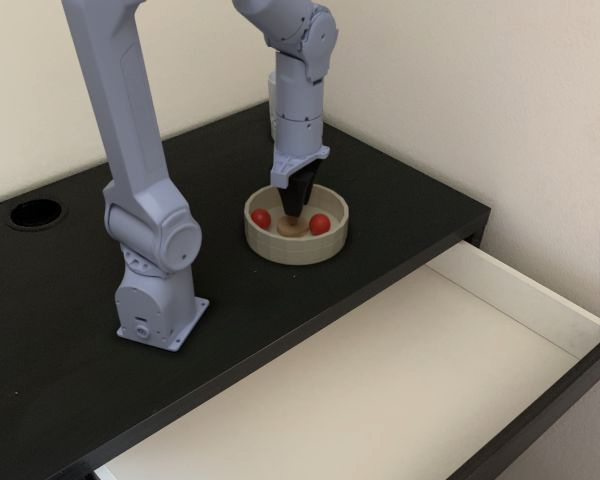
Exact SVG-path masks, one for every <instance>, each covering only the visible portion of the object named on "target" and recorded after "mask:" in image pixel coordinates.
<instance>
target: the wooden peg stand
mask: <svg viewBox="0 0 600 480" xmlns="http://www.w3.org/2000/svg"><path fill="white" fill-rule="evenodd" d="M277 231H278V233H279V234H280V235H281V236H284V237H291V238H300V237H303V236H304V235H306V234H307V232H308V221H307V220H306V219H305V218H303V217H301V216H300V217H293V216H289V215H286V216H283V217H281V218H280V219H279V220H278V222H277Z"/></svg>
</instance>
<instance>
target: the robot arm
mask: <svg viewBox="0 0 600 480" xmlns="http://www.w3.org/2000/svg"><path fill="white" fill-rule="evenodd" d="M147 1H148V0H60V2H61V5H62V9H63V12H64V15H65V19H66V22H67V25H68V29H69V33H70V37H71V40H72V44H73V46H74V50H75V54H76V57H77V60H78V63H79V67H80V71H81V74H82V78H83V81H84V83H85V87H86V90H87V94H88V98H89V101H90V105H91V107H92V111H93V115H94V118H95V121H96V125H97V129H98V131H99V135H100V139H101V142H102V145H103V149H104V152H105V155H106V160H107V163H108V165H109V170H110V172H111V176H112V180H110V181H109V182H108V183H107V185H106V186H105V187H104V188H103V189H102V195H103V197H104V202H105V210H104V217H103V219H104V227H105V231H106V232H107V234H108V235H109V236H110V237H111V238H112V239H114V240H116V241H117V242H119V247H120V250H121V252H122V253H123V257H124V264H125V265H124V267H125V268H124V274H123V278H122V280H121V283H120V285H119V286H118V288H117V289H116V291H115V294H114V302H115V306H116V310H117V315H118V319H119V323H120V326H119V328H118V329H117V331H116V335H117V337H119V338H123V339H125V340H126V339H127V340H130V341H134V342H138V343H141V344H144V345H148V346H151V347H152V346H153V347H155V348H160V349H163V350H167V351H170V352H177V351H179V350H180V348H181V347H182V345H183V344H184V343H185V342H186V339H187V338H188V336H189V335H190V333H192V331H193V329H194V327H196V324H198V323H199V320H200V319H201V318H202V316H203V314H204V313H205V312H206V311H207V309H208V308H209V306H210V301H209V300H208V299H206V298H202V297H198V296H195V287H194V279H193V272H192V264H193V262H194V261H195V259H196V258H197V256H198V254H199V252H200V249H201V246H202V239H203V235H202V229H201V226H200V224H199V223H198V221H196V220H195V219H194V217H193V216H192V214H191V210H190V205H189V202H188V201H187V200H186V198H185V197H184V195H183V194H182V192H181V191H180V190H179V189H178V187H177V186H176V185H175V183H174V182H173V181H172V180H171V178H170V175H169V171H168V170H169V169H168V166H167V160H166V155H165V152H164V147H163V143H162V137H161V133H160V128H159V123H158V119H157V115H156V110H155V106H154V101H153V95H152V90H151V86H150V82H149V78H148V72H147V68H146V65H145V58H144V55H143V50H142V46H141V45H142V44H141V39H140V35H139V31H138V26H137V21H136V17H135V15H136V12H137V9H138V8H139V7H140V5H141V4H144V3H146V2H147ZM231 3H232V5H233V8H234V9H235V10H236V12H237V13H239V14H240V15H241V16H242V17H243V18H244V19H245V20H247V21H248V22H249V23H251V24H252V26H254V27H255V28H256V29H257V30H258V31H260V32H261V33H262V34H263V39H264V42H265V45H266V46H267V48H272V49H273V50H275V52H274V53H275V55H274V56H275V57H274V58H275V59H274V61H275V69H276V141H274V143H273V162H272V163H271V165H270V166H269V167H268V175H269V178H270V185H271V186H275V187H277V189H278V192H279V194H280V198H281V201H282V205H283V209H284V212H285V215H289V216H293V217H300V215H301V213H302V210H303V205H306V206H307V204H308V202H309V199H310V196H311V192H312V188H313V184H315V180H316V177H317V174H318V172H319V169H320V167H321V166H322V163H323V161H324V160H325V159H327V158H328V157H329V155H330V151H331V149H330V147H329V146H326V145H324V144H323V134H324V133H323V132H324V121H323V113H324V112H323V111H324V110H323V109H324V96H325V95H324V92H325V76H327V75H328V72H329V70H330V67H331V66H330V63H331V57H332V55H333V51H334V49H335V47H336V44H337V41H338V37H339V30H340V29H339V28H337V23H336V19H335V17H334V16H333V14H332V12H331V10H330V9H329V8H328V7H327V6H325V5H323V4H319V3H317V2H313V1H312V0H231Z"/></svg>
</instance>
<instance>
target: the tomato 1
mask: <svg viewBox="0 0 600 480" xmlns="http://www.w3.org/2000/svg"><path fill="white" fill-rule="evenodd" d="M250 217H251V219H252V221H253V222H254V223H255V224H256V225H257V226H259V227H260V228H261V229H263V230H266V229H267V228H268V227H269V226H270V224H271V216H270V214H269V212H268V211H266V210H265V209H256V210H254V211H253V212H252V213H251V215H250Z"/></svg>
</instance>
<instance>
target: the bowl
mask: <svg viewBox="0 0 600 480" xmlns="http://www.w3.org/2000/svg"><path fill="white" fill-rule="evenodd" d="M256 209H265V210H266V211H268V212H269V214H270V216H271V224H270V226H269V227H268V228H267V229H266V230H263V229H261V228H260V227H259V226H257V225H256V224H255V223H254V222H253V221H252V219H251V217H250V215H251V213H252V212H253V211H254V210H256ZM349 213H350V212H349V206H348V204H347V202H346V201H345V199H344V197H342V196H341V195H340V194H338V193H337V192H336V191H335V190H333V189H330V188H328V187H326V186H323V185H321V184H317V183H314V184H313V188H312V192H311V196H310V199H309V202H308V204H307V206H306V205H303V210H302V213H301V215H300V216H301V217H303V218H305V219H306V220H307V221H308V232H307V234H306V235H304V236H303V237H300V238H291V237H284V236H281V235H280V234H279V233H278V231H277V222H278V220H279V219H280V218H281V217H283V216H286V215H285V212H284V209H283V205H282V201H281V198H280V194H279V192H278V189H277V187H275V186H271V184H269V185H266V186H264V187H261V188H260V189H258V190H256V191H255V192H254V193H252V194H251V195H250V196H249V197H248V199H247V200H246V201H245V203H244V210H243V220H244V235H245V240H246V242H247V244H248V246H249V247H250V248H251V250H252V251H253V252H255V253H256V254H257V255H259V256H260V257H261V258H264V259H266V260H269V261H271V262H274V263H277V264H282V265H289V266H306V265H312V264H317V263H321V262H324V261H326V260H328V259H331V258H332V257H334V256H336V254H339V252H340V251H341V250H342V249H343V247H344V246H345V243H346V241H347V237H348V229H349V228H348V226H349V216H350V215H349ZM315 214H324V215H326V216H327V217H328V218H329V220H330V223H331V226H330V230H329V231H328V232H326V233H324V234H321V235H318V236H317V235H314V234H313V233H312V232H311V231H310V228H309V221H310V219H311V218H312V216H314V215H315Z"/></svg>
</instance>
